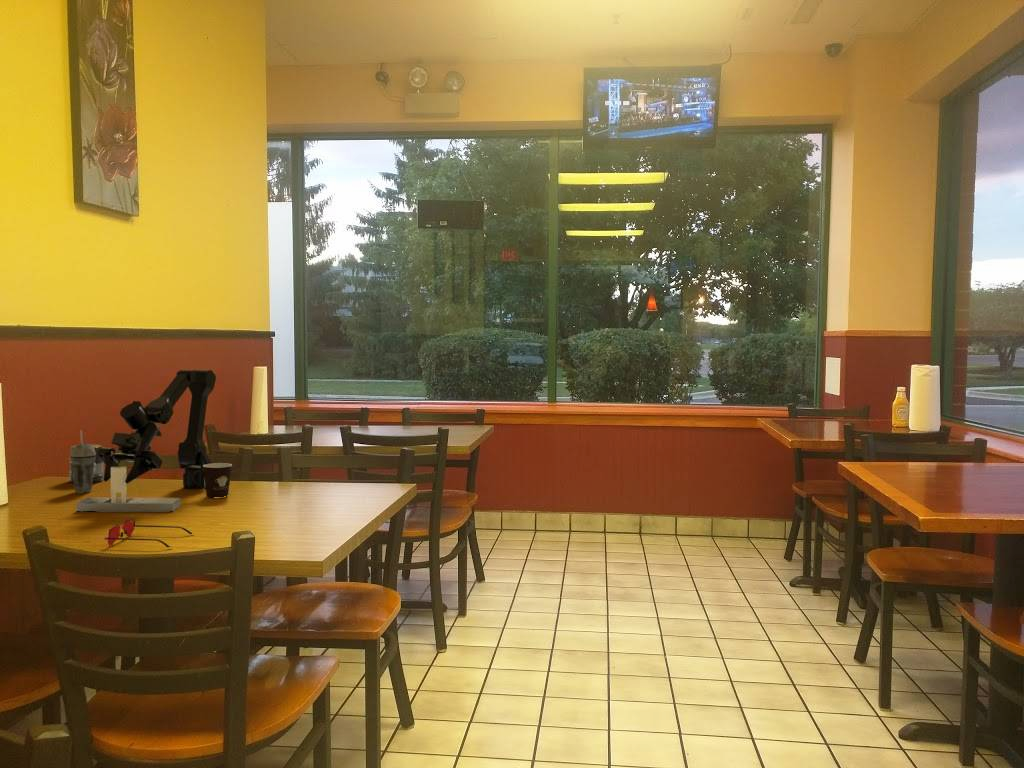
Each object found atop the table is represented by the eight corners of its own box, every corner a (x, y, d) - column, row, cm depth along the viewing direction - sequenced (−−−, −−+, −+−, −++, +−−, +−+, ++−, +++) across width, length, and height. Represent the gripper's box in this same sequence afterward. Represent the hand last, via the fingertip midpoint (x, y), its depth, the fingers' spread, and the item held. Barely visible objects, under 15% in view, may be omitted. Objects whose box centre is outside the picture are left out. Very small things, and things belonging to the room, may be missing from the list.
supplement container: (84, 477, 277) (84, 443, 277) (111, 479, 275) (111, 445, 275) (61, 482, 267) (61, 447, 266) (89, 484, 265) (89, 449, 264)
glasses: (130, 535, 204) (131, 515, 204) (195, 536, 204) (195, 517, 204) (103, 549, 190) (103, 528, 190) (172, 551, 190) (172, 530, 190)
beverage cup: (101, 490, 256) (101, 428, 255) (86, 494, 249) (86, 431, 248) (79, 489, 257) (79, 427, 256) (65, 493, 250) (64, 430, 249)
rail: (180, 506, 237) (180, 497, 237) (172, 512, 229) (172, 503, 229) (87, 506, 234) (87, 497, 233) (76, 512, 226) (76, 503, 226)
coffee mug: (232, 493, 258) (232, 462, 257) (231, 498, 250) (231, 467, 249) (193, 494, 254) (193, 463, 253) (191, 500, 246) (191, 468, 245)
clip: (126, 507, 234) (126, 466, 233) (126, 509, 230) (126, 468, 230) (111, 508, 232) (111, 467, 232) (110, 510, 228) (110, 468, 228)
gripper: (101, 420, 236) (72, 463, 225) (155, 423, 231) (129, 467, 221) (119, 443, 244) (93, 485, 234) (173, 447, 239) (148, 490, 229)
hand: (115, 481), depth 229 cm, fingers open, 7 cm apart
